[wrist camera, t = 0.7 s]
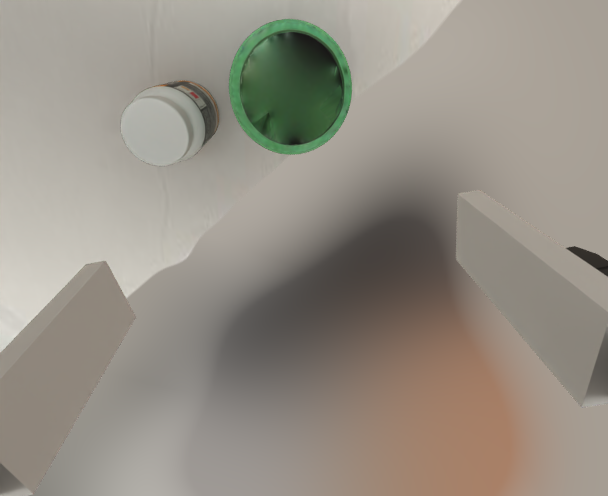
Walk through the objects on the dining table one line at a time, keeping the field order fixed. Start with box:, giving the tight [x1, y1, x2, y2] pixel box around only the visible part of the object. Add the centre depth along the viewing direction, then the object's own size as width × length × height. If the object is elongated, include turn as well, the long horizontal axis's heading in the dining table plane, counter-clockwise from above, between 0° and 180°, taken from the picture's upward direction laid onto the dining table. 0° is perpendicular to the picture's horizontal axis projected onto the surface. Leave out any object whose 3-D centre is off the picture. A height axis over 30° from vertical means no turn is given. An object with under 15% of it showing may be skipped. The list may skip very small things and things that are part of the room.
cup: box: [229, 19, 352, 154], centre depth 27 cm, size 8×8×12 cm
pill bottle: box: [120, 81, 219, 166], centre depth 29 cm, size 6×6×10 cm
